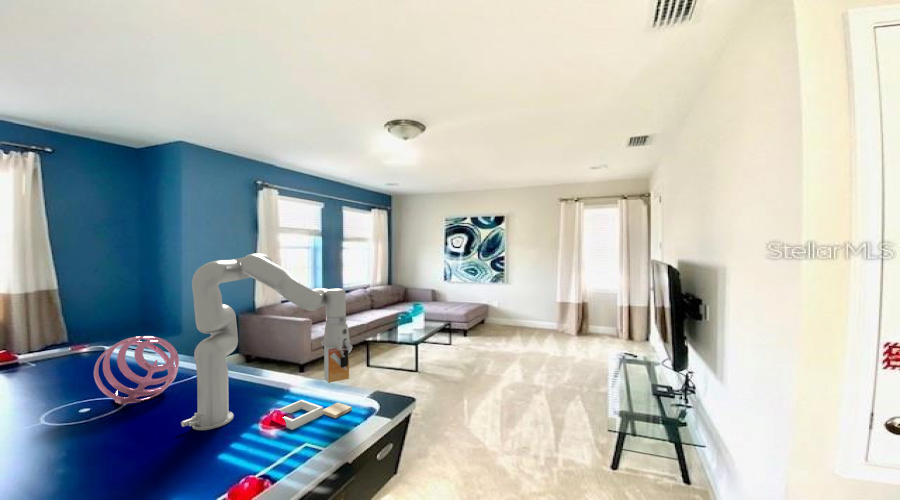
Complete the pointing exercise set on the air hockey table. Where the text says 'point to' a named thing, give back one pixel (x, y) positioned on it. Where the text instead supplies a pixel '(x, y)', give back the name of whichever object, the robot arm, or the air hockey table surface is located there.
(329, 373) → the small box
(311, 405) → the tray
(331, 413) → the board
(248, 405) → the air hockey table surface
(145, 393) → the spiral basket
